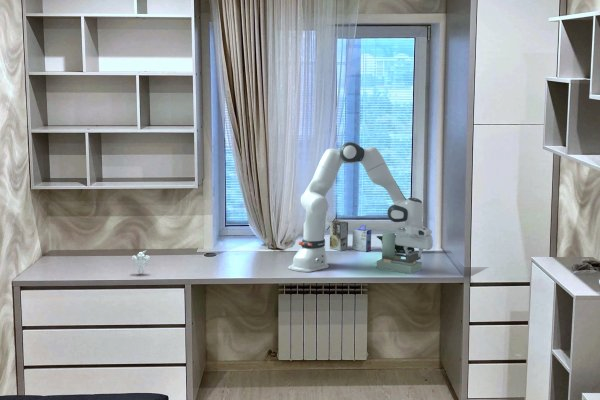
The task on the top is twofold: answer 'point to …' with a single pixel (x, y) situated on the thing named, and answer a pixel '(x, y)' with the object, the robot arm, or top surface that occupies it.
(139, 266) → the hat wearing toy figure
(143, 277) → the top surface
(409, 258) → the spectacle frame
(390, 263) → the flanged cylinder mount
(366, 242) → the ink cartridge box
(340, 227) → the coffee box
